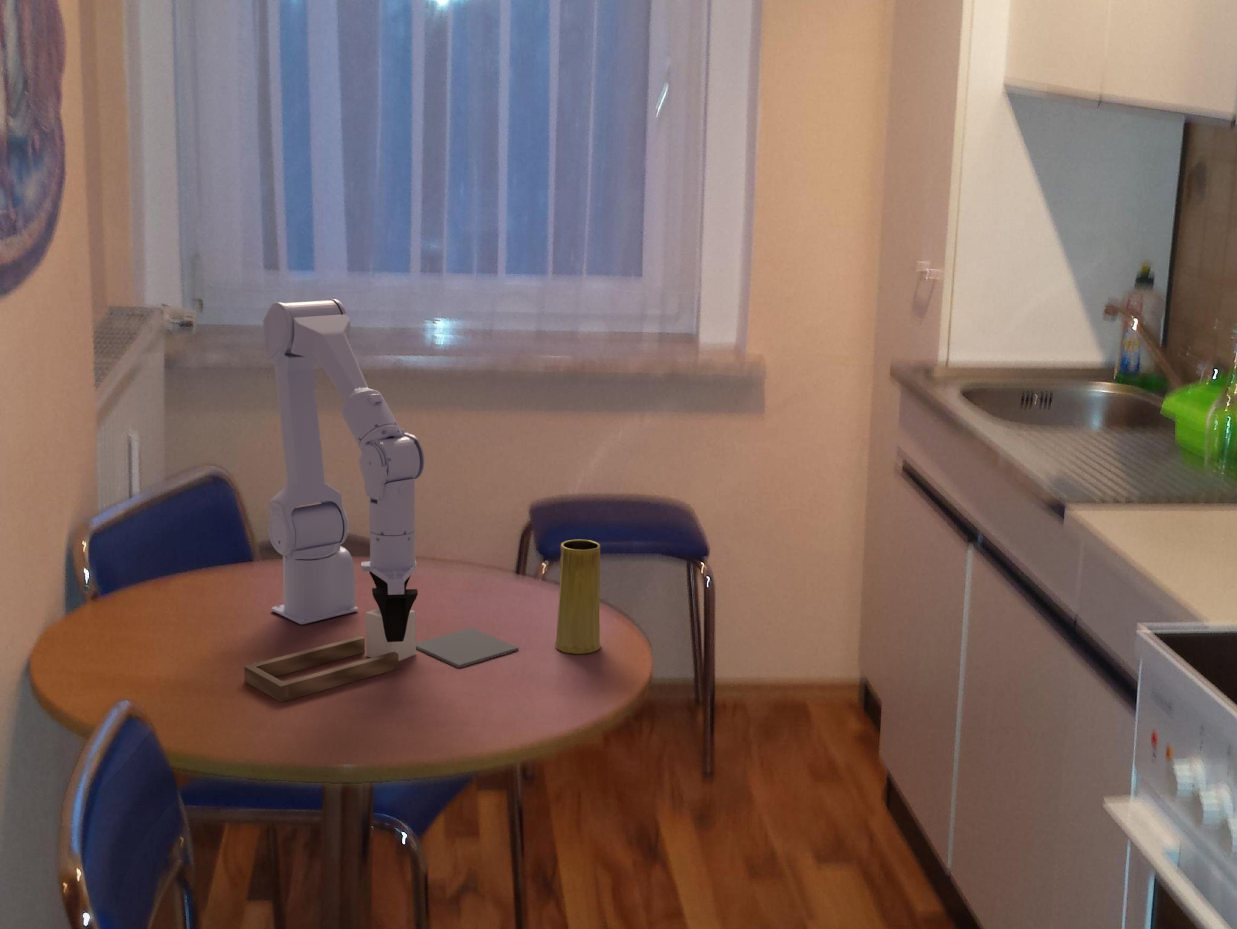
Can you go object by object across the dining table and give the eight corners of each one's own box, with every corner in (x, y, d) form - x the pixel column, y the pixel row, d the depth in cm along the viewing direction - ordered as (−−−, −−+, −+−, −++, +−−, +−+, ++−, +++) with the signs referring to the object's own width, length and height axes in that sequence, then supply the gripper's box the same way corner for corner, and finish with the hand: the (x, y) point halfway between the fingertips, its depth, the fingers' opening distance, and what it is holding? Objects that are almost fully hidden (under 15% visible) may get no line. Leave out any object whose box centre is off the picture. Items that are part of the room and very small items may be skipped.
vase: (610, 647, 191) (613, 545, 188) (577, 658, 187) (580, 554, 183) (577, 635, 195) (580, 535, 192) (545, 646, 191) (547, 544, 187)
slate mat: (471, 630, 196) (471, 627, 196) (518, 650, 189) (518, 647, 189) (412, 646, 189) (412, 643, 189) (458, 668, 182) (459, 665, 182)
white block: (390, 646, 189) (390, 603, 188) (415, 654, 186) (415, 611, 185) (366, 656, 185) (365, 612, 184) (391, 664, 183) (390, 620, 181)
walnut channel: (360, 650, 187) (360, 635, 187) (398, 668, 181) (398, 653, 181) (244, 681, 175) (244, 666, 175) (281, 702, 170) (280, 686, 169)
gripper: (358, 516, 188) (360, 613, 191) (362, 546, 174) (364, 651, 177) (412, 514, 189) (413, 611, 192) (420, 544, 176) (421, 649, 179)
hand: (393, 630), depth 185 cm, fingers open, 7 cm apart
